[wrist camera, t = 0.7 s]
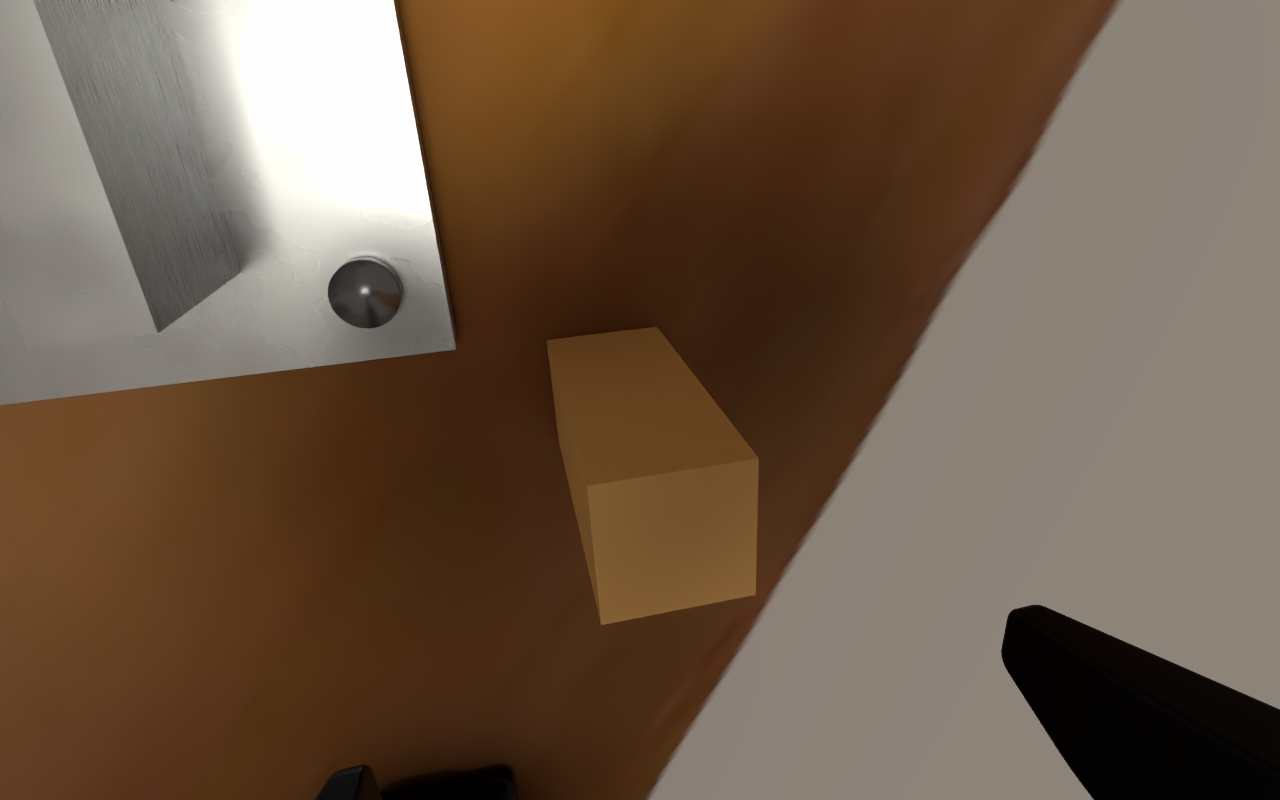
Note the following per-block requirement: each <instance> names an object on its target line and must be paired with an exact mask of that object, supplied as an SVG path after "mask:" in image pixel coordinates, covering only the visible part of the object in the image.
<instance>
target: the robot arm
mask: <svg viewBox="0 0 1280 800" xmlns="http://www.w3.org/2000/svg"><path fill="white" fill-rule="evenodd" d="M1001 653H1002V659H1003V663H1004V665H1005V667H1006V669H1007V671H1008V673H1009V674H1010V675H1011V677H1012V679H1013V680H1014V682H1015V683H1016V685H1017V687H1018V688H1019V690H1020V691H1021V693H1022V694H1023V696H1024V698H1025V699H1026V701H1027V702H1028V704H1029V705H1030V707H1031V708H1032V710H1033V711H1034V713H1035V715H1036V716H1037V718H1038V720H1039V721H1040V723H1041V724H1042V726H1043V727H1044V729H1045V730H1046V732H1047V734H1048V735H1049V737H1050V738H1051V740H1052V741H1053V743H1054V745H1055V746H1056V748H1057V749H1058V751H1059V752H1060V754H1061V755H1062V757H1063V758H1064V760H1065V761H1066V763H1067V764H1068V766H1069V767H1070V768H1071V770H1072V771H1073V773H1074V774H1075V775H1076V777H1077V778H1078V779H1079V781H1080V782H1081V783H1082V785H1083V786H1084V787H1085V789H1086V790H1087V791H1088V793H1089V794H1090V795H1091V797H1092V798H1093V799H1094V800H1280V709H1277V708H1275V707H1273V706H1270V705H1268V704H1266V703H1264V702H1261V701H1259V700H1257V699H1255V698H1252V697H1250V696H1248V695H1245V694H1243V693H1241V692H1238V691H1236V690H1234V689H1232V688H1229V687H1227V686H1225V685H1223V684H1220V683H1218V682H1216V681H1213V680H1211V679H1209V678H1206V677H1204V676H1202V675H1200V674H1197V673H1195V672H1193V671H1191V670H1188V669H1186V668H1184V667H1181V666H1179V665H1177V664H1174V663H1172V662H1170V661H1168V660H1165V659H1163V658H1161V657H1159V656H1156V655H1154V654H1152V653H1149V652H1147V651H1145V650H1143V649H1140V648H1138V647H1135V646H1133V645H1131V644H1129V643H1127V642H1124V641H1122V640H1120V639H1117V638H1115V637H1113V636H1111V635H1108V634H1106V633H1104V632H1101V631H1099V630H1097V629H1095V628H1092V627H1090V626H1088V625H1085V624H1083V623H1081V622H1079V621H1076V620H1074V619H1072V618H1069V617H1067V616H1065V615H1063V614H1060V613H1058V612H1056V611H1053V610H1051V609H1049V608H1047V607H1044V606H1041V605H1030V606H1026V607H1022V608H1018V609H1014V610H1012V611H1011V612H1010V613H1009V615H1008V618H1007V623H1006V629H1005V634H1004V639H1003V644H1002V651H1001ZM315 800H518V795H517V790H516V785H515V780H514V775H513V773H512V772H511V771H510V770H508V769H496V770H492V771H487V772H483V773H479V774H474V775H470V776H466V777H461V778H457V779H452V780H448V781H444V782H439V783H435V784H430V785H426V786H422V787H417V788H413V789H409V790H404V791H400V792H395V793H391V794H387V795H382V796H381V794H380V791H379V788H378V786H377V783H376V780H375V777H374V774H373V772H372V769H371V768H370V767H369V766H368V765H359V766H354V767H350V768H346V769H342V770H339V771H336V772H335V773H333V774H332V775H331V776H330V778H329V779H328V780H327V782H326V783H325V785H324V786H323V788H322V789H321V791H320V792H319V794H318V795H317V797H316V798H315Z"/></svg>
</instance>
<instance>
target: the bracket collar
mask: <svg viewBox="0 0 1280 800" xmlns="http://www.w3.org/2000/svg"><path fill="white" fill-rule="evenodd" d="M456 345H457V334H456V328H455V322H454V317H453V311H452V305H451V300H450V294H449V288H448V283H447V277H446V272H445V266H444V260H443V255H442V249H441V243H440V238H439V232H438V226H437V221H436V215H435V210H434V204H433V198H432V193H431V187H430V181H429V176H428V170H427V165H426V159H425V153H424V148H423V142H422V136H421V131H420V125H419V119H418V114H417V108H416V103H415V97H414V91H413V86H412V80H411V74H410V69H409V63H408V57H407V52H406V46H405V41H404V35H403V29H402V24H401V18H400V12H399V7H398V1H397V0H0V405H5V404H13V403H21V402H29V401H38V400H46V399H54V398H62V397H70V396H79V395H87V394H95V393H103V392H111V391H120V390H128V389H136V388H144V387H153V386H161V385H169V384H177V383H185V382H194V381H202V380H210V379H218V378H227V377H235V376H243V375H251V374H259V373H268V372H276V371H284V370H292V369H301V368H309V367H317V366H325V365H333V364H342V363H350V362H358V361H366V360H374V359H383V358H391V357H399V356H407V355H416V354H424V353H432V352H440V351H448V350H456Z"/></svg>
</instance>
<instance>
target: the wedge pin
mask: <svg viewBox="0 0 1280 800" xmlns="http://www.w3.org/2000/svg"><path fill="white" fill-rule="evenodd" d="M547 347H548V356H549V364H550V373H551V381H552V390H553V398H554V406H555V415H556V423H557V432H558V440H559V444H560V449H561V453H562V457H563V462H564V466H565V470H566V475H567V479H568V483H569V488H570V492H571V496H572V501H573V505H574V510H575V514H576V518H577V523H578V527H579V531H580V536H581V540H582V544H583V549H584V553H585V557H586V562H587V566H588V570H589V575H590V579H591V583H592V588H593V592H594V596H595V601H596V605H597V609H598V614H599V618H600V622H601V625H604V624H609V623H614V622H620V621H625V620H630V619H635V618H640V617H645V616H650V615H655V614H660V613H665V612H670V611H675V610H681V609H686V608H691V607H696V606H701V605H706V604H711V603H716V602H721V601H726V600H731V599H736V598H741V597H747V596H752V595H756V558H757V515H758V471H759V458H758V457H757V455H756V454H755V453H754V452H753V450H752V449H751V448H750V446H749V445H748V444H747V442H746V441H745V440H744V439H743V437H742V436H741V435H740V433H739V432H738V431H737V430H736V428H735V427H734V426H733V424H732V423H731V422H730V420H729V419H728V418H727V417H726V415H725V414H724V413H723V411H722V410H721V409H720V408H719V406H718V405H717V404H716V402H715V401H714V400H713V398H712V397H711V396H710V395H709V393H708V392H707V391H706V389H705V388H704V387H703V386H702V384H701V383H700V382H699V380H698V379H697V378H696V376H695V375H694V374H693V373H692V371H691V370H690V369H689V367H688V366H687V365H686V364H685V362H684V361H683V360H682V358H681V357H680V356H679V354H678V353H677V352H676V351H675V349H674V348H673V347H672V345H671V344H670V343H669V342H668V340H667V339H666V338H665V336H664V335H663V334H662V332H661V331H660V330H659V329H658V327H649V328H641V329H633V330H624V331H616V332H608V333H600V334H592V335H583V336H575V337H567V338H559V339H551V340H547Z"/></svg>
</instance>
